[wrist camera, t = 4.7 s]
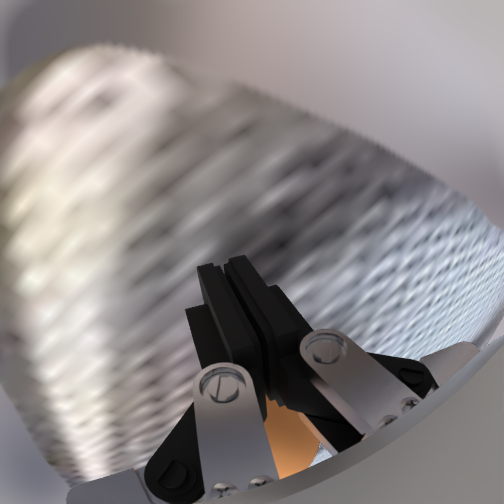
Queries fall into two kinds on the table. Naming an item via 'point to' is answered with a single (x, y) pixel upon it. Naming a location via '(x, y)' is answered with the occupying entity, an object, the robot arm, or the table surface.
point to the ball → (289, 440)
